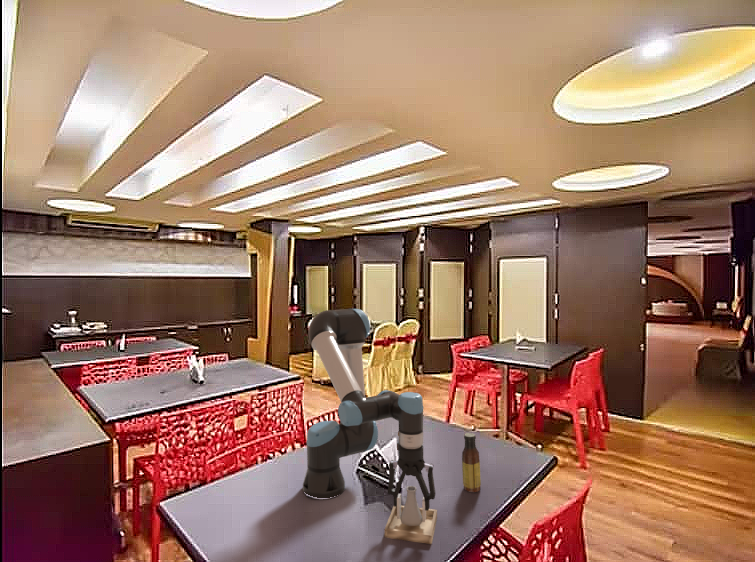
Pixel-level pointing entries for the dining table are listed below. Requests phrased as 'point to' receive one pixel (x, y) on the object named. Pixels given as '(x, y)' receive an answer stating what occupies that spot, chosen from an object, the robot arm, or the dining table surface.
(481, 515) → the dining table surface
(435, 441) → the dining table surface
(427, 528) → the serving tray
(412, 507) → the flask
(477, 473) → the sauce bottle
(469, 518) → the dining table surface
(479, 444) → the dining table surface
